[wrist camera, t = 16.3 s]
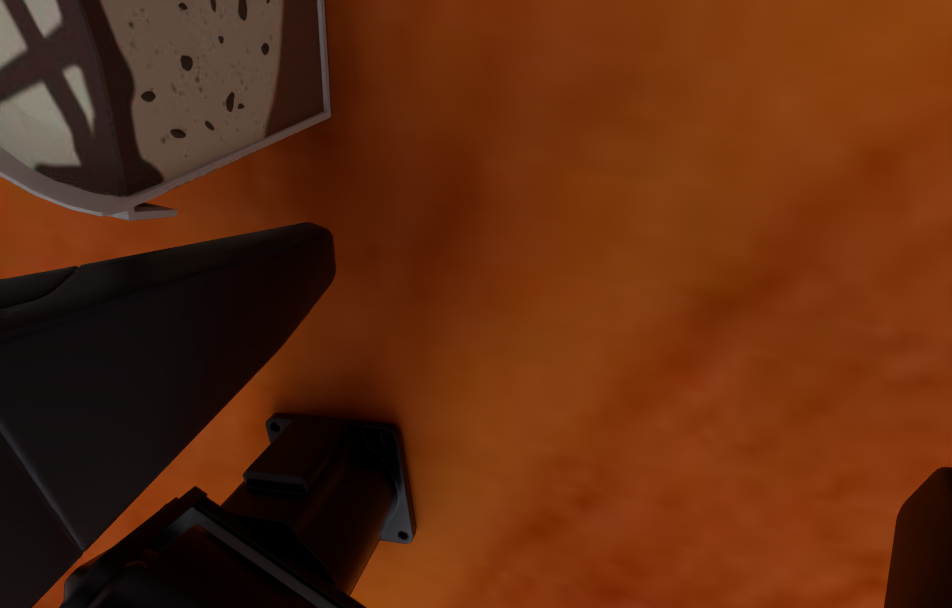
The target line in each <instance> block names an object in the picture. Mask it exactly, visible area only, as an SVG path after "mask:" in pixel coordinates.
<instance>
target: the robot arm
mask: <svg viewBox="0 0 952 608" xmlns="http://www.w3.org/2000/svg"><path fill="white" fill-rule="evenodd" d="M335 273H336V263H335V251H334V240H333V235H332V233H331V231H330V230H328V229H327V228H324V227H322V226H319V225H317V224H314V223H310V222H306V223H300V224H295V225H290V226H284V227H279V228H274V229H268V230H263V231H258V232H253V233H247V234H242V235H237V236H232V237H226V238H221V239H216V240H210V241H205V242H200V243H195V244H189V245H184V246H179V247H174V248H168V249H163V250H158V251H153V252H147V253H142V254H137V255H131V256H126V257H121V258H116V259H110V260H105V261H100V262H95V263H89V264H84V265H81V266H80V267H77V266H73V267H68V268H62V269H57V270H52V271H46V272H41V273H35V274H29V275H24V276H18V277H12V278H7V279H0V608H32V607H33V606H34V605H35V604H36V603H37V602H38V601H39V599H40V598H41V597H42V596H43V595H44V594H45V593H46V592H47V591H48V590H49V589H50V588H51V587H52V586H53V585H54V584H55V583H56V582H57V581H58V580H59V579H60V578H61V577H62V576H63V575H64V573H65V572H66V571H67V570H68V569H69V568H70V567H71V566H72V565H73V564H74V563H75V562H76V561H77V560H78V559H79V558H80V557H81V556H82V555H83V552H84V551H86V550H87V549H88V548H89V547H90V546H91V545H92V544H93V543H94V542H95V541H96V540H97V539H98V538H99V537H100V536H101V535H102V533H103V532H104V531H105V530H106V529H107V528H108V527H109V526H110V525H111V524H112V523H113V522H114V521H115V520H116V519H117V518H118V517H119V516H120V515H121V514H122V513H123V512H124V511H125V510H126V509H127V507H128V506H129V505H130V504H131V503H132V502H133V501H134V500H135V499H136V498H137V497H138V496H139V495H140V494H141V493H142V492H143V491H144V490H145V489H146V488H147V487H148V486H149V485H150V484H151V483H152V482H153V480H154V479H155V478H156V477H157V476H158V475H159V474H160V473H161V472H162V471H163V470H164V469H165V468H166V467H167V466H168V465H169V464H170V463H171V462H172V461H173V460H174V459H175V458H176V457H177V456H178V454H179V453H180V452H181V451H182V450H183V449H184V448H185V447H186V446H187V445H188V444H189V443H190V442H191V441H192V440H193V439H194V438H195V437H196V436H197V435H198V434H199V433H200V432H201V431H202V430H203V428H204V427H205V426H206V425H207V424H208V423H209V422H210V421H211V420H212V419H213V418H214V417H215V416H216V415H217V414H218V413H219V412H220V411H221V410H222V409H223V408H224V407H225V406H226V405H227V404H228V402H229V401H230V400H231V399H232V398H233V397H234V396H235V395H236V394H237V393H238V392H239V391H240V390H241V389H242V388H243V387H244V386H245V385H246V384H247V383H248V382H249V381H250V380H251V379H252V378H253V377H254V375H255V374H256V373H257V372H258V371H259V370H260V369H261V368H262V367H263V366H264V365H265V364H266V363H267V362H268V361H269V360H270V359H271V358H272V357H273V356H274V355H275V353H276V352H277V351H278V350H279V349H280V348H281V347H282V346H283V345H284V343H285V342H286V341H287V340H288V338H289V337H290V336H291V335H292V334H293V332H294V331H295V330H296V328H297V327H298V326H299V325H300V323H301V322H302V321H303V319H304V318H305V317H306V316H307V314H308V313H309V312H310V310H311V309H312V308H313V307H314V305H315V304H316V303H317V301H318V300H319V299H320V298H321V296H322V295H323V294H324V292H325V291H326V290H327V289H328V287H329V286H330V285H331V283H332V281H333V279H334V277H335ZM276 423H277V424H278V425H279V426H278V425H277V424H276ZM266 429H267V432H268V436H269V440H270V445H269V446H268V447H267V448H266V450H265V451H264V452H263V453H262V454H261V455H260V456H259V457H258V458H257V459H256V460H255V461H254V462H253V463H252V464H251V465H250V467H249V468H248V469H247V470H246V471H245V472H244V474H243V478H244V481H243V482H242V483H241V484H240V486H239V487H238V488H237V489H236V490H235V491H234V492H233V493H232V494H231V495H230V496H229V497H228V499H227V500H226V501H225V502H224V503H223V504H222V505H221V506H219V505H218V504H216V503H215V502H214V501H212V500H211V499H209V498H208V497H207V493H205V492H204V491H202V490H201V489H199V488H198V487H197V486H195V487H193V488H192V489H191V490H189V491H188V492H187V493H186V494H184V495H183V496H182V497H181V498H179V499H178V498H177V497H176V498H174V499H173V500H172V501H171V502H169V503H168V504H165V505H164V506H163V507H162V508H161V509H160V510H159V511H158V512H157V513H155V514H154V515H153V516H151V517H150V518H149V519H148V520H146V521H145V522H144V523H143V524H141V525H140V526H139V527H138V528H136V529H135V530H134V531H132V532H131V533H130V534H129V535H127V536H126V537H125V538H124V539H122V540H121V541H120V542H118V543H117V544H116V545H115V546H113V547H112V548H110V549H109V550H107V551H105V552H103V553H102V554H100V555H98V556H97V557H95V558H93V559H91V560H90V561H88V562H86V563H84V564H83V565H81V566H80V567H78V568H77V569H76V570H75V571H74V572H73V573H72V574H71V575H70V576H69V577H68V578H67V580H66V581H65V584H64V600H63V603H62V604H61V606H60V607H59V608H367V607H365V606H364V605H362V604H361V603H359V602H358V601H356V600H355V599H354V598H352V597H351V596H350V595H351V593H352V591H353V589H354V587H355V586H356V584H357V582H358V580H359V578H360V576H361V574H362V573H363V571H364V569H365V567H366V565H367V563H368V561H369V559H370V558H371V556H372V554H373V552H374V550H375V548H376V546H377V545H378V543H379V541H380V540H384V541H391V542H397V543H404V544H408V543H410V542H411V541H412V540H413V538H414V536H415V534H416V528H415V522H414V516H413V510H412V503H411V497H410V491H409V485H408V478H407V472H406V466H405V460H404V453H403V447H402V441H401V435H400V431H399V429H398V428H397V427H396V426H395V425H393V424H390V423H383V422H372V421H361V420H350V419H345V418H334V417H322V416H311V415H294V414H282V413H274V414H273V415H272V416H271V417H270V418H269V419H268V420H267V421H266ZM385 433H387V434H389V435H390V436H391V437H388V436H387V435H385ZM404 532H405V533H404ZM884 608H952V468H951V467H941V468H939V469H937V470H936V471H935V472H933V473H932V474H931V475H930V476H929V478H928V479H927V480H926V481H925V482H924V483H923V484H922V485H921V486H920V487H919V488H918V489H917V490H916V491H915V492H914V493H913V494H912V495H911V496H910V497H909V498H908V499H907V500H906V501H905V503H904V504H903V505H902V507H901V509H900V511H899V513H898V516H897V520H896V526H895V533H894V540H893V547H892V555H891V562H890V569H889V576H888V583H887V590H886V597H885V604H884Z"/></svg>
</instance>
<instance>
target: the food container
mask: <svg viewBox="0 0 952 608" xmlns="http://www.w3.org/2000/svg"><path fill="white" fill-rule="evenodd" d="M328 118H331V106H330V88H329V71H328V54H327V37H326V20H325V3H324V0H0V176H1V177H3V178H5V179H7V180H8V181H10V182H12V183H14V184H16V185H17V186H19V187H21V188H23V189H24V190H26V191H28V192H30V193H32V194H33V195H35V196H38V197H40V198H43V199H46V200H48V201H51V202H53V203H56V204H58V205H61V206H63V207H66V208H68V209H71V210H76V211H80V212H84V213H89V214H93V215H97V216H102V217H103V216H107V215H108V216H112V217H116V218H120V219H125V220H129V221H131V220H142V219H153V218H164V217H175V216H177V210H175V209H171V208H166V207H162V206H157V205H153V204H148V203H145V202H146V201H148V200H150V199H152V198H155V197H157V196H159V195H161V194H163V193H166V192H168V191H170V190H172V189H174V188H177V187H179V186H181V185H183V184H185V183H188V182H190V181H192V180H194V179H196V178H199V177H201V176H203V175H205V174H207V173H210V172H212V171H214V170H216V169H218V168H221V167H223V166H225V165H227V164H229V163H232V162H234V161H236V160H238V159H240V158H243V157H245V156H247V155H249V154H251V153H254V152H256V151H258V150H260V149H262V148H265V147H267V146H269V145H271V144H273V143H276V142H278V141H280V140H282V139H284V138H287V137H289V136H291V135H293V134H295V133H298V132H300V131H302V130H304V129H306V128H309V127H311V126H313V125H315V124H317V123H320V122H322V121H324V120H326V119H328Z"/></svg>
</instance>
